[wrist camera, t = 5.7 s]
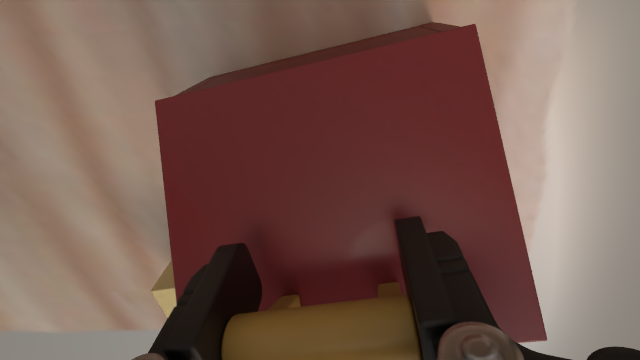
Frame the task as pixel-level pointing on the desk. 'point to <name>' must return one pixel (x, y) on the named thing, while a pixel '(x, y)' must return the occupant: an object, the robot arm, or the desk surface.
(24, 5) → the desk surface
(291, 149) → the cover
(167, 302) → the tan cube
